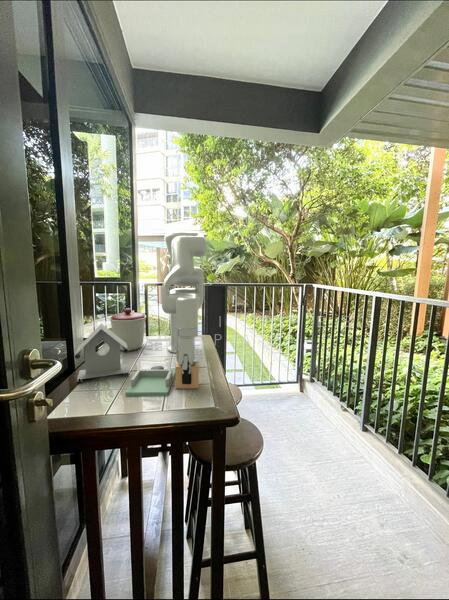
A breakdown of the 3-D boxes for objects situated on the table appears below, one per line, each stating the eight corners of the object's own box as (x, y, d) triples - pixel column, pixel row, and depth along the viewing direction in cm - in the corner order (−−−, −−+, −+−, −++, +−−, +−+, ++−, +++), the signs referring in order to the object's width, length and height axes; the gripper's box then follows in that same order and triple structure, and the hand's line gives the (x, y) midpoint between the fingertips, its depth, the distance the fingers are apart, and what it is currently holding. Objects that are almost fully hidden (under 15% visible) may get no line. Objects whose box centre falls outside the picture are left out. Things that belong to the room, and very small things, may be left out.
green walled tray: (141, 372, 110) (141, 363, 110) (176, 371, 111) (176, 363, 110) (125, 395, 91) (125, 385, 90) (167, 395, 91) (167, 385, 91)
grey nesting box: (76, 384, 99) (72, 331, 96) (78, 374, 108) (75, 325, 105) (129, 376, 106) (127, 326, 104) (127, 367, 115) (125, 321, 112)
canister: (151, 343, 151) (150, 305, 148) (141, 353, 133) (140, 311, 130) (118, 342, 151) (116, 305, 148) (104, 353, 133) (102, 311, 130)
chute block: (177, 382, 101) (177, 360, 100) (199, 382, 101) (199, 360, 100) (175, 388, 96) (175, 365, 95) (198, 388, 96) (198, 365, 95)
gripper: (179, 325, 104) (180, 370, 107) (172, 338, 87) (173, 391, 90) (199, 325, 104) (199, 370, 107) (196, 338, 87) (196, 391, 90)
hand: (187, 379), depth 98 cm, fingers closed on chute block, 5 cm apart
